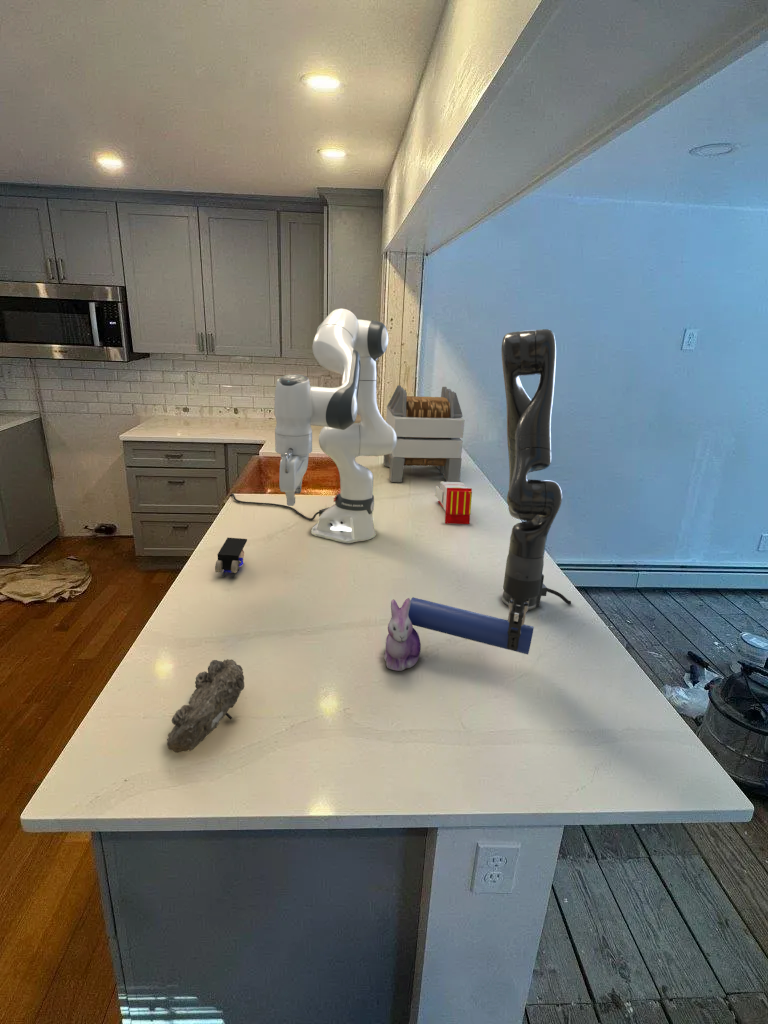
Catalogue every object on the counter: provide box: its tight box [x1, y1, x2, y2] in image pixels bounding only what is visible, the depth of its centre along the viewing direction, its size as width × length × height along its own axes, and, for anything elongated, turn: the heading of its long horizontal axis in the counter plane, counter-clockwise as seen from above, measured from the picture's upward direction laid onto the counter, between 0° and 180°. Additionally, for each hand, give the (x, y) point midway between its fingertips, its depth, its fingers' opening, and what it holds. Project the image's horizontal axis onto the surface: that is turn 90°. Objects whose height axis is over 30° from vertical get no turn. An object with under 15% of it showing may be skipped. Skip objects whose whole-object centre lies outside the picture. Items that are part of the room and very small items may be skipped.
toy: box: [434, 481, 473, 525], centre depth 222 cm, size 12×13×30 cm
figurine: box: [383, 597, 422, 672], centre depth 125 cm, size 9×10×15 cm
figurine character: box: [214, 537, 248, 578], centre depth 166 cm, size 7×8×15 cm
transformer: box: [383, 384, 465, 483], centre depth 268 cm, size 34×33×41 cm
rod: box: [408, 596, 535, 655], centre depth 127 cm, size 27×6×6 cm, turn 72°
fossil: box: [166, 658, 245, 754], centre depth 106 cm, size 22×10×15 cm
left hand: (294, 498), depth 141 cm, fingers open, 8 cm apart
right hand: (513, 640), depth 124 cm, fingers closed on rod, 6 cm apart
